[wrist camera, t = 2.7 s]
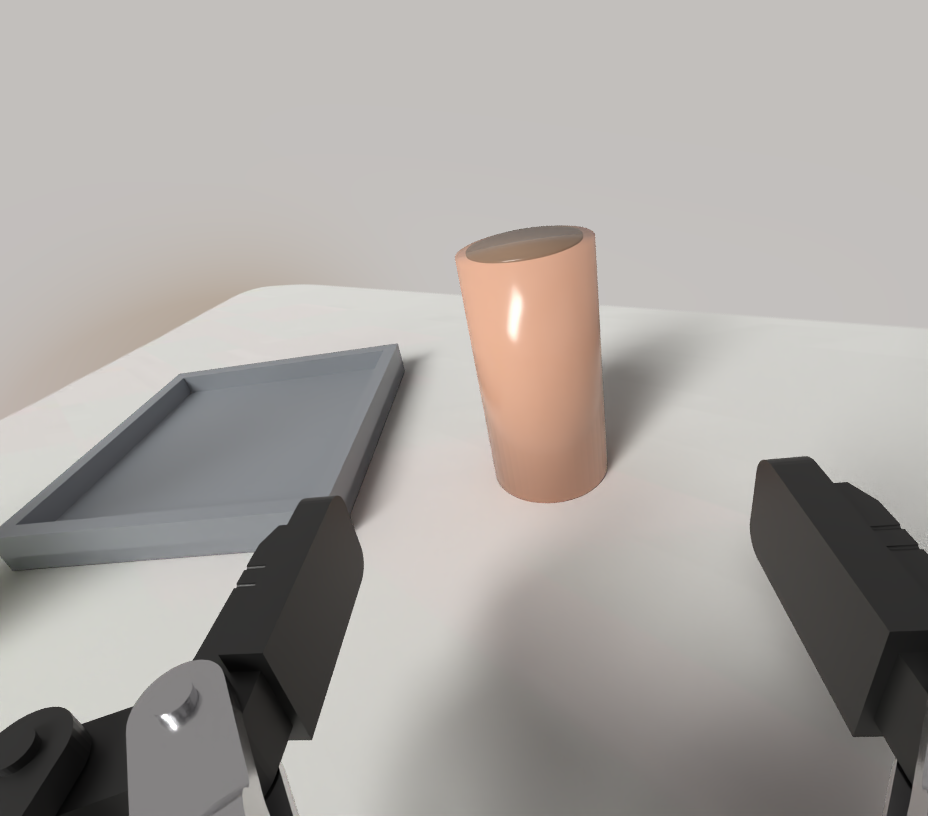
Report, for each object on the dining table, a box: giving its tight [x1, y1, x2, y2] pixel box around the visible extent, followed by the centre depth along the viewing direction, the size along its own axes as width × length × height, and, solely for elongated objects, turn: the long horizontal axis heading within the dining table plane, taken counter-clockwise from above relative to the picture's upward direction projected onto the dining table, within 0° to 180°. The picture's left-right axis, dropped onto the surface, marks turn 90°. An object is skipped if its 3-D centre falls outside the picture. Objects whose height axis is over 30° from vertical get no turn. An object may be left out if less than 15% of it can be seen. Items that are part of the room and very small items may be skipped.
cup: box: [455, 226, 607, 503], centre depth 21 cm, size 5×5×10 cm
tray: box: [0, 344, 405, 570], centre depth 29 cm, size 16×16×2 cm
